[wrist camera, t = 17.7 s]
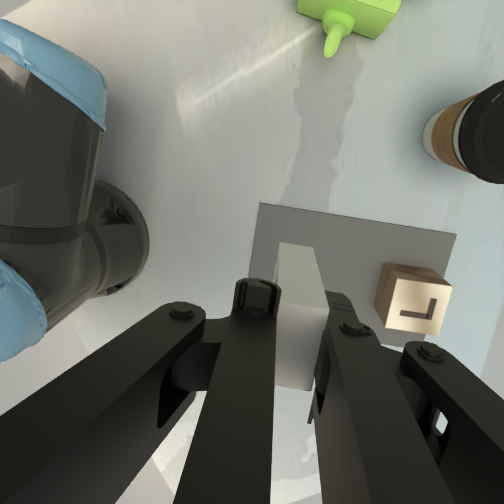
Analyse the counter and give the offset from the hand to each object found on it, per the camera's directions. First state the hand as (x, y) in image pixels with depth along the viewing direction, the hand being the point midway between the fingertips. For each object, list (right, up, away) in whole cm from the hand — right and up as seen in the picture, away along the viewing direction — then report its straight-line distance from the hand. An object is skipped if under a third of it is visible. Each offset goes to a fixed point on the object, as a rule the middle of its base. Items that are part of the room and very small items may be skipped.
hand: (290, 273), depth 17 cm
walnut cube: (+17, -5, +25) cm, 31 cm away
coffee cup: (+21, +14, +26) cm, 36 cm away
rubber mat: (+10, -2, +32) cm, 33 cm away
